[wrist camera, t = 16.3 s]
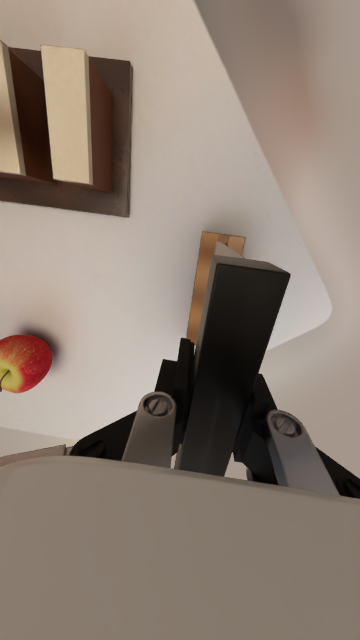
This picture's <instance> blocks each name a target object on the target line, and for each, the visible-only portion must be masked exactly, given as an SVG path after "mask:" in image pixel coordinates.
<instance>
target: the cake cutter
mask: <svg viewBox="0 0 360 640" xmlns="http://www.w3.org/2000/svg"><path fill="white" fill-rule="evenodd" d="M290 276H291V274H290V273H288V272H286V271H285V270H283V269H281V268H279V267H277V266H275V265H273V264H271V263H269V262H263V261H256V260H249V259H245V258H243V257H242V256H241V255H239V254H238V253H236V252H235V251H233V250H232V249H230V248H229V247H227V246H226V245H224V244H223V243H222V242H216V247H215V253H214V255H213V256H212V259H211V265H210V271H209V276H208V282H207V287H206V293H205V298H204V304H203V310H202V315H201V321H200V326H199V332H198V337H197V343H196V349H195V354H194V360H193V378H192V393H191V399H190V404H189V410H188V415H187V420H186V426H185V431H184V436H183V441H182V444H179V449H178V452H177V455H176V460H175V466H174V469H177V470H184V471H190V472H197V473H203V474H209V475H216V476H222V477H224V475H225V471H226V469H227V466H228V463H229V460H230V457H231V454H232V451H233V448H234V445H235V442H236V439H237V436H238V433H239V430H240V427H241V424H242V421H243V418H244V415H245V412H246V409H247V406H248V403H249V400H250V397H251V394H252V391H253V388H254V384H255V381H256V378H257V375H258V372H259V369H260V366H261V363H262V360H263V357H264V354H265V351H266V348H267V345H268V342H269V339H270V336H271V333H272V330H273V327H274V324H275V321H276V318H277V315H278V312H279V309H280V306H281V303H282V300H283V297H284V294H285V291H286V288H287V285H288V282H289V279H290Z"/></svg>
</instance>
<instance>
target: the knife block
mask: <svg viewBox="0 0 360 640" xmlns="http://www.w3.org/2000/svg"><path fill="white" fill-rule="evenodd" d="M216 242H222V243H223V244H224V245H226V246H227V247H229V248H230V249H232V250H233V251H235V252H236V253H238V254H239V255H241V256H242V251H243V247H244V242H245V237H241V236H234V235H226V234H219V233H211V232H203V231H202V236H201V242H200V249H199V256H198V262H197V269H196V276H195V282H194V289H193V296H192V303H191V309H190V316H189V323H188V329H187V337H186V339H191V342H194V345H196V343H197V337H198V332H199V326H200V321H201V315H202V310H203V304H204V298H205V293H206V287H207V282H208V276H209V271H210V265H211V259H212V256H213V255H214V253H215V247H216Z"/></svg>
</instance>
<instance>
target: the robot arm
mask: <svg viewBox="0 0 360 640" xmlns="http://www.w3.org/2000/svg"><path fill="white" fill-rule="evenodd" d="M193 360H194V342H191V339H186V338H181V341H180V347H179V354H178V360H177V361H171V360H165V359H163V361H162V365H161V369H160V372H159V376H158V380H157V384H156V388H155V391H154V392H152V393H149V394H147V395H145V396H144V397H143V398H142V399H141V401H140V404H139V407H138V410H137V411H135V412H133V413H131V414H129V415H127V416H125V417H123V418H121V419H119V420H117V421H115V422H113V423H111V424H110V425H108V426H106V427H104V428H102V429H100V430H98V431H96V432H94V433H92V434H90V435H88V436H86V437H84V438H82V439H81V440H79V441H78V442H77V443H76V444H75V445H74V446H72V447H66V445H65V444H64V445H59V446H54V447H49V448H44V449H39V450H34V451H29V452H24V453H18V454H14V455H8V456H3V457H0V640H360V479H359V478H358V477H356V476H355V475H353V474H352V473H351V472H349V471H348V470H346V469H345V468H344V467H343V466H341V465H340V464H338V463H337V462H336V461H334V460H333V459H331V458H330V457H329V456H327V455H326V454H325V453H323V452H322V451H320V450H319V449H318V448H316V447H315V446H314V444H313V443H312V440H311V439H310V437H309V435H308V433H307V431H306V429H305V427H304V426H303V424H302V423H301V422H300V421H299V420H298V419H297V418H296V417H294V416H293V415H291V414H290V413H287V412H285V411H281V410H278V409H277V407H276V405H275V403H274V400H273V398H272V395H271V393H270V391H269V389H268V386H267V384H266V382H265V379H264V377H263V375H262V374H258V375H257V378H256V381H255V384H254V388H253V391H252V394H251V397H250V400H249V403H248V406H247V409H246V412H245V415H244V418H243V421H242V424H241V427H240V430H239V433H238V436H237V439H236V442H235V445H234V448H233V451H232V452H233V455H234V461H236V462H242V463H243V464H244V465H245V466H246V467H247V469H246V474H247V479H248V481H247V480H241V479H235V478H228V477H222V476H216V475H209V474H203V473H197V472H190V471H184V470H177V469H171V468H170V467H171V457H172V456H173V455H174V454H175V453H177V452H178V449H179V444H182V441H183V436H184V431H185V426H186V420H187V415H188V410H189V404H190V399H191V393H192V378H193Z"/></svg>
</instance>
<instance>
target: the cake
mask: <svg viewBox="0 0 360 640" xmlns="http://www.w3.org/2000/svg"><path fill="white" fill-rule="evenodd" d="M88 57H89V56H88ZM89 59H90V60H91V62H92V63H93V65H94V66H95V68H96V69H97V71H98V73H99V74H100V76H101V77H102V79H103V80H104V82H105V83H106V85H107V86H108V88H109V90H110V91H111V93H112V192H105V191H97V190H89V189H83V188H80V187H77V186H74V185H71V184H68V183H65V182H62V181H59V180H56V179H53V169H52V159H51V149H50V138H49V128H48V117H47V107H46V97H45V86H44V76H43V65H42V55H41V51H37V50H28V49H20V48H11V47H8V46H7V45H6V44H5V43H3V42H2V41H1V40H0V201H8V202H16V203H23V204H31V205H38V206H46V207H54V208H61V209H69V210H77V211H84V212H92V213H99V214H107V215H115V216H122V217H129V193H130V151H131V108H132V65H131V63H130V61H124V60H115V59H107V58H98V57H89Z"/></svg>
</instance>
